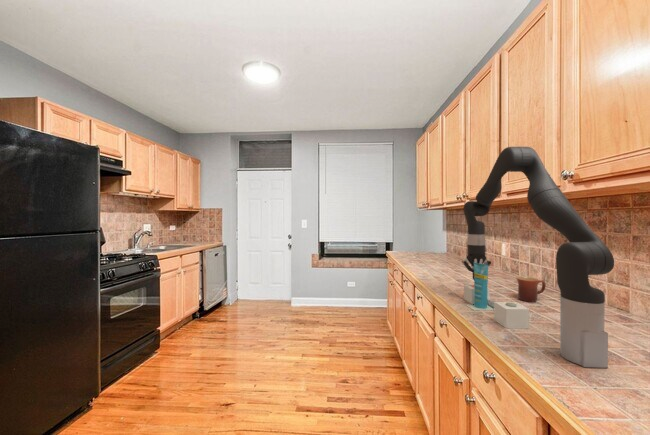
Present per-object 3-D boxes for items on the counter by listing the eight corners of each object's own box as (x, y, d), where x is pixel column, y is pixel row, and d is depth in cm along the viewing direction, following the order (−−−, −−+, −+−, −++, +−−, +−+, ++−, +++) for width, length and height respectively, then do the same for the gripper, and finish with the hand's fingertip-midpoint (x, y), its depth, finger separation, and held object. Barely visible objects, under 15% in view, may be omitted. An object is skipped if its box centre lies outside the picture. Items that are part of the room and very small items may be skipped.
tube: (469, 305, 125) (469, 262, 125) (477, 303, 127) (477, 261, 127) (485, 310, 118) (485, 265, 118) (492, 308, 120) (492, 264, 120)
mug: (523, 303, 128) (523, 280, 128) (512, 297, 137) (512, 276, 137) (551, 303, 127) (551, 281, 127) (538, 298, 136) (538, 277, 136)
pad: (494, 310, 119) (494, 309, 119) (472, 310, 120) (472, 309, 120) (486, 305, 125) (486, 304, 125) (466, 305, 126) (466, 304, 126)
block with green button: (529, 328, 100) (529, 307, 100) (506, 328, 101) (506, 307, 101) (515, 320, 108) (515, 300, 108) (494, 319, 109) (494, 300, 109)
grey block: (489, 304, 127) (489, 289, 127) (471, 304, 127) (471, 289, 127) (480, 299, 135) (480, 284, 135) (463, 299, 135) (463, 284, 135)
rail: (518, 320, 108) (518, 313, 108) (512, 320, 108) (512, 313, 108) (492, 304, 127) (492, 299, 127) (487, 304, 127) (487, 299, 127)
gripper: (465, 244, 127) (465, 282, 127) (495, 244, 127) (495, 282, 127) (458, 243, 135) (458, 279, 135) (486, 243, 134) (486, 279, 134)
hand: (476, 280), depth 131 cm, fingers closed
